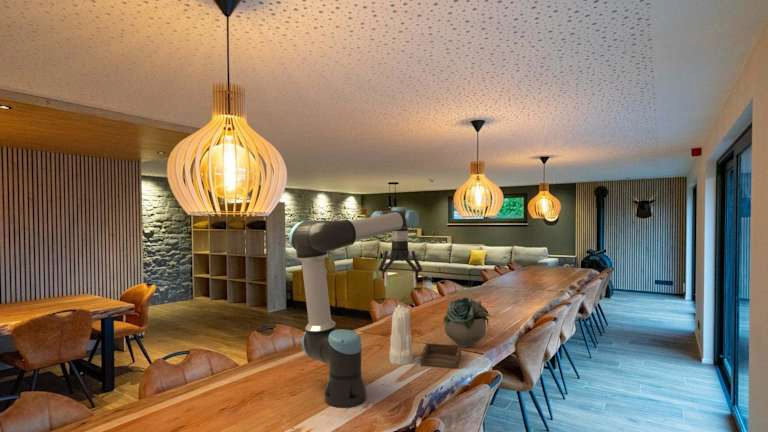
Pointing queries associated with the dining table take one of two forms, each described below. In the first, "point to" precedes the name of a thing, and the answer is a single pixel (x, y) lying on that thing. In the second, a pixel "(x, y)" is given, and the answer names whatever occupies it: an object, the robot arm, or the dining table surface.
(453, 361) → the brown wooden tray
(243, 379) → the dining table surface
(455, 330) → the flower arrangement
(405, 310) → the decorative vase
